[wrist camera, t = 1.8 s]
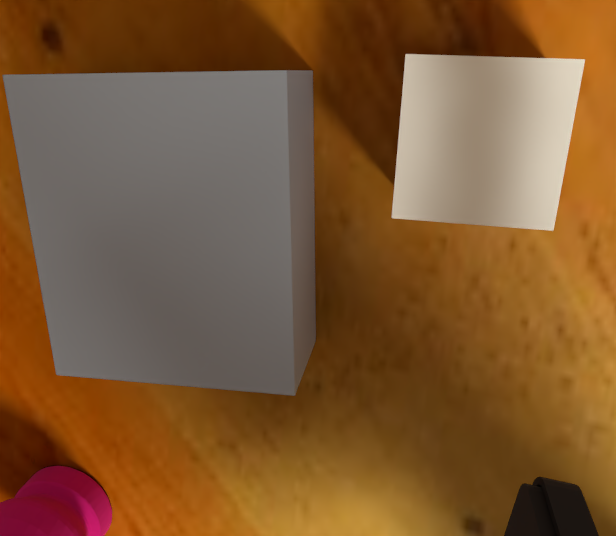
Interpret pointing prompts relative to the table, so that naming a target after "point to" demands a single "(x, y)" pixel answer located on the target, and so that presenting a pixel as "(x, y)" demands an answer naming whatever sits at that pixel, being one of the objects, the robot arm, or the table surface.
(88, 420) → the table surface
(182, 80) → the slate block
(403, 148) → the cream block
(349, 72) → the table surface
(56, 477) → the pepper mill
